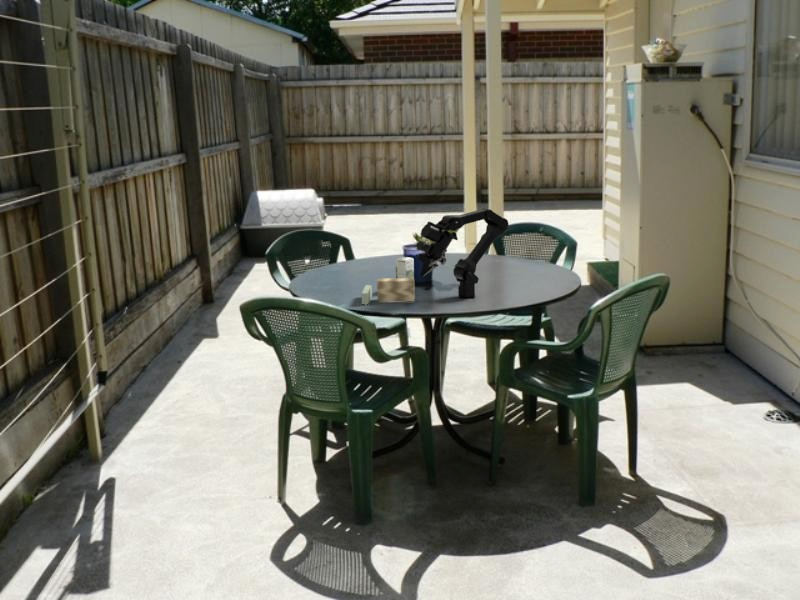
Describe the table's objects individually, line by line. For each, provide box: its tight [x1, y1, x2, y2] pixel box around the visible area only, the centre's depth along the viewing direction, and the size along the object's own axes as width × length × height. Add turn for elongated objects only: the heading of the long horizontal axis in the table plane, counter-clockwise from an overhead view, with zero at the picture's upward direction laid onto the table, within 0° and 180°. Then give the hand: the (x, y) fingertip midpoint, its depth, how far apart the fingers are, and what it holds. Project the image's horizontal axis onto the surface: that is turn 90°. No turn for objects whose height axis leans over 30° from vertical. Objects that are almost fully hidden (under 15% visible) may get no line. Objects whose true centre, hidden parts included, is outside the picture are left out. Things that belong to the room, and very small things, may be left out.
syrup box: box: [395, 256, 415, 279], centre depth 378 cm, size 6×6×14 cm
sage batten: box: [361, 284, 373, 305], centre depth 362 cm, size 2×16×5 cm, turn 176°
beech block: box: [376, 277, 416, 302], centre depth 360 cm, size 15×6×9 cm, turn 86°
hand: (421, 275), depth 359 cm, fingers closed
